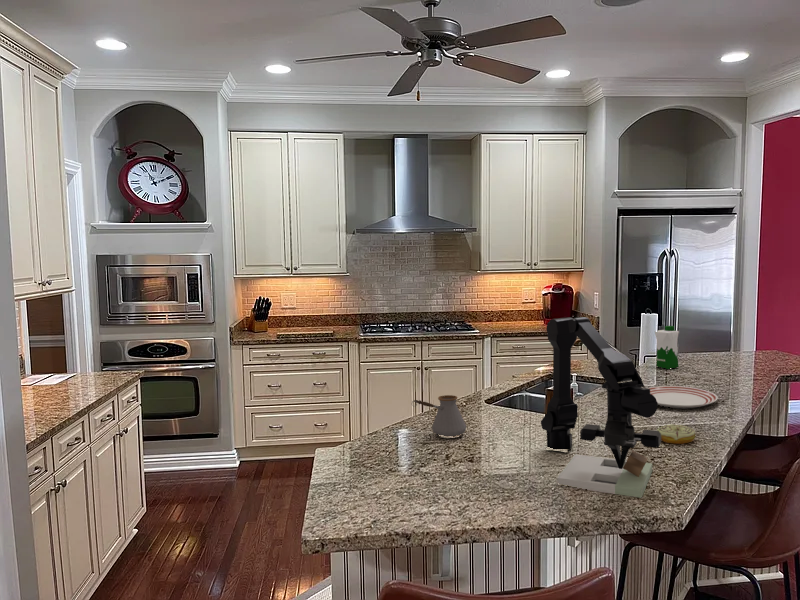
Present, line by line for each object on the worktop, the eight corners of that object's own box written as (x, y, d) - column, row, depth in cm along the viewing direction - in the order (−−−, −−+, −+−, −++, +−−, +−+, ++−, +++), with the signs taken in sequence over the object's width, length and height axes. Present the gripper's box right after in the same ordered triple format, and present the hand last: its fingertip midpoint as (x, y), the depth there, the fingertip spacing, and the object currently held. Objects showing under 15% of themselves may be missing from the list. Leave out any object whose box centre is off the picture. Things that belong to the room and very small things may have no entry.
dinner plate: (728, 412, 206) (728, 403, 206) (645, 412, 212) (645, 403, 212) (705, 393, 233) (704, 385, 233) (631, 394, 239) (631, 386, 239)
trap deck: (557, 485, 150) (557, 477, 150) (575, 461, 166) (575, 454, 166) (641, 497, 140) (641, 489, 140) (652, 470, 156) (652, 463, 156)
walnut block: (622, 468, 149) (629, 455, 148) (625, 463, 153) (632, 450, 151) (638, 477, 147) (645, 463, 146) (640, 471, 151) (647, 458, 150)
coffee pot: (448, 428, 204) (446, 385, 203) (474, 434, 196) (472, 390, 195) (403, 443, 190) (400, 397, 189) (428, 451, 181) (426, 403, 180)
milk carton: (681, 368, 282) (680, 326, 281) (668, 370, 279) (667, 328, 277) (666, 365, 290) (665, 325, 289) (652, 367, 287) (652, 326, 285)
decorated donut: (649, 439, 183) (649, 427, 182) (672, 432, 188) (672, 420, 187) (679, 447, 173) (679, 435, 173) (702, 440, 178) (702, 428, 178)
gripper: (574, 413, 148) (576, 474, 149) (655, 419, 138) (656, 485, 139) (584, 402, 157) (586, 459, 158) (660, 408, 148) (662, 469, 149)
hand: (620, 468), depth 151 cm, fingers closed
